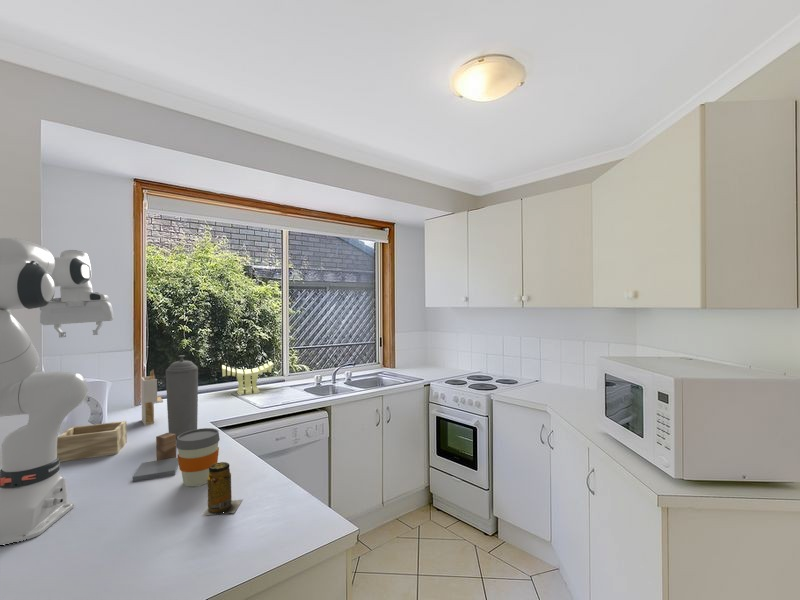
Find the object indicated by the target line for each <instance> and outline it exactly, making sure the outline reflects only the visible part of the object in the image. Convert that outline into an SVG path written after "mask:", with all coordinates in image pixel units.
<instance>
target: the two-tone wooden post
mask: <svg viewBox="0 0 800 600" xmlns="http://www.w3.org/2000/svg"><path fill="white" fill-rule="evenodd" d="M154 372H155V371H154V369H152V370H151V371H150V375H148V376H142V377H140V381H141V384H140V386H141V388H140V389H141V391H140V392H141V421H142V423H143V425H144V427H145V426H149V425H153V424H155V418H154V417H155V407H154V405H155V404H159V403H161V404H162V403H163V402H164V400H163V399H162V397H161V396H158V379H157V378H155V373H154Z"/></svg>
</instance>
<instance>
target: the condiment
mask: <svg viewBox="0 0 800 600" xmlns="http://www.w3.org/2000/svg"><path fill="white" fill-rule="evenodd" d="M207 481H208V483H207V508H206V510H205V511H204V512H203V513H202V516H215V515H216V516H217V515H226V514H227V515H228V514H235V513H236V511H237V510H238V509H239V507H240V506H241V503H242V502H243V499H234V500H232V498H233V497H232V473H231V469H230V463H228V462H226V461H225V462H223V461H221V462H217V463H215V464H213V465H211V466H210V467H209V476H208V480H207ZM223 512H224V513H223Z"/></svg>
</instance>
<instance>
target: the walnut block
mask: <svg viewBox="0 0 800 600" xmlns="http://www.w3.org/2000/svg"><path fill="white" fill-rule="evenodd" d="M176 445H177V438H176V434H173V433H169V432H166V433H163V434H159V435H157V436H155V446H156V447H155V449H156V450H155V451H156V453H155V454H156V458H155V459H156V461H157V460H164V459H171V458H177V447H176Z"/></svg>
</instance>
